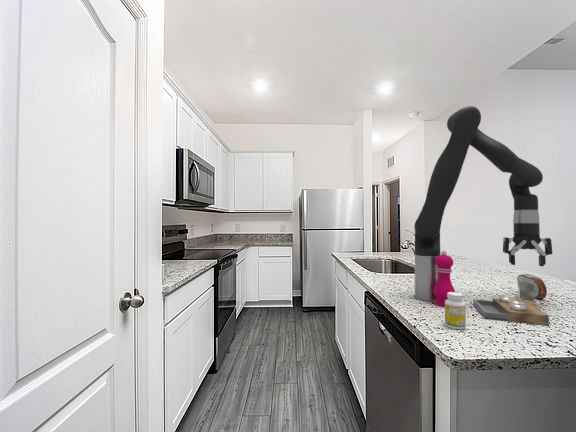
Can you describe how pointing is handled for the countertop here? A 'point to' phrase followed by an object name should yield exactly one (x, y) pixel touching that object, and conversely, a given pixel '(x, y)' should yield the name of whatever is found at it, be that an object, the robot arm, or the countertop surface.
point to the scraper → (527, 294)
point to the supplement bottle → (455, 311)
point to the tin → (539, 285)
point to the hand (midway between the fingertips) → (527, 265)
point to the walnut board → (522, 313)
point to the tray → (489, 310)
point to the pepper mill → (443, 278)
